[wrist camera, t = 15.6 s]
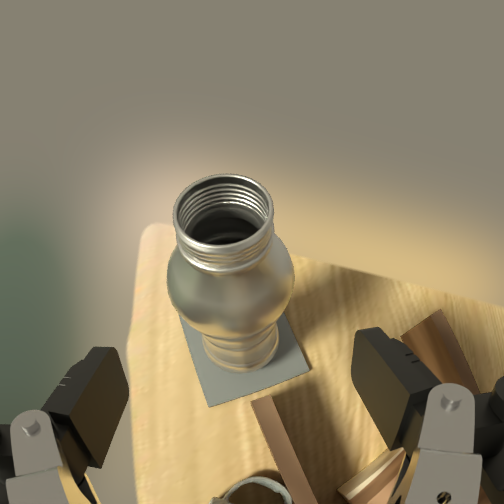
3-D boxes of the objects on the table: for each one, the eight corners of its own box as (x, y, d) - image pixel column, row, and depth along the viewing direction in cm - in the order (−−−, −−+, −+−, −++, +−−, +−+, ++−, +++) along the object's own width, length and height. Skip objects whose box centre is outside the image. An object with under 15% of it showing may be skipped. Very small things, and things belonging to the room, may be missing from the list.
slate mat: (270, 284, 32) (270, 282, 31) (308, 371, 27) (309, 370, 26) (179, 314, 30) (178, 312, 29) (209, 407, 25) (208, 407, 25)
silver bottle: (282, 371, 26) (339, 273, 9) (210, 381, 26) (127, 301, 9) (270, 309, 30) (293, 144, 13) (203, 318, 29) (141, 162, 12)
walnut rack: (410, 330, 29) (474, 282, 18) (471, 480, 18) (544, 482, 8) (251, 404, 25) (250, 396, 15) (327, 570, 15) (363, 626, 5)
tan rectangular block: (423, 411, 24) (455, 405, 19) (446, 442, 22) (479, 441, 17) (335, 488, 21) (354, 503, 15) (362, 519, 18) (386, 537, 13)
